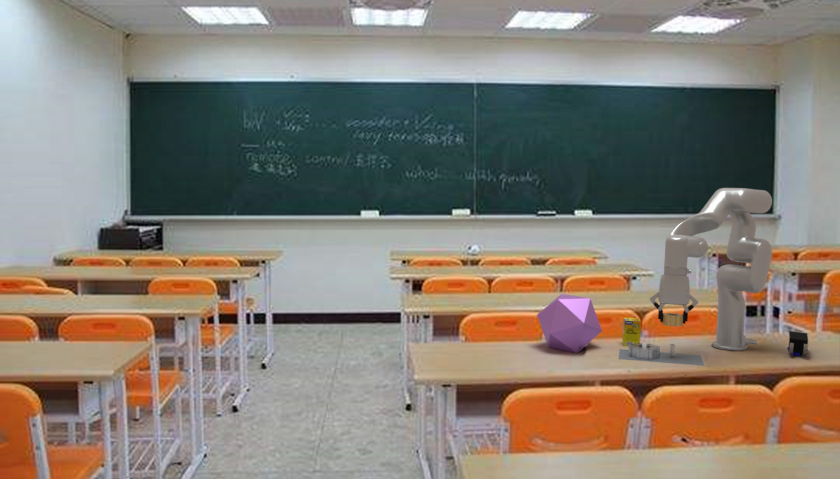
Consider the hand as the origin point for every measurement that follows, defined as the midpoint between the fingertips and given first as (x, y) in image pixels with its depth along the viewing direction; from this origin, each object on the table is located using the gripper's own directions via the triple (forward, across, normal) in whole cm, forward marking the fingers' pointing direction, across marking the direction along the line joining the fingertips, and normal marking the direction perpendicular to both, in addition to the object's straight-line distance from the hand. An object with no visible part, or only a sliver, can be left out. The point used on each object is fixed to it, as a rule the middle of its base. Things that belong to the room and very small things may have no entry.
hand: (672, 322), depth 255 cm
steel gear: (+13, +9, +1) cm, 16 cm away
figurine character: (+13, -45, -24) cm, 53 cm away
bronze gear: (+1, 0, 0) cm, 1 cm away
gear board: (+14, +4, +1) cm, 14 cm away
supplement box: (+14, +14, -16) cm, 25 cm away
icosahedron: (+14, +36, -7) cm, 39 cm away
